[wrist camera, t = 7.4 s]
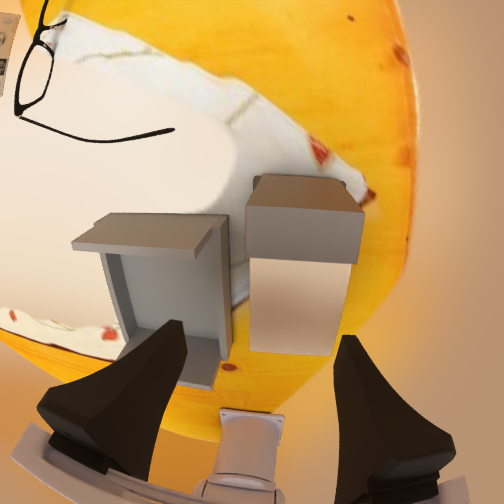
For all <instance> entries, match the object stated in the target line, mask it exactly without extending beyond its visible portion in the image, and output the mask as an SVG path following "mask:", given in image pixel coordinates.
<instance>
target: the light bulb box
mask: <svg viewBox="0 0 504 504" xmlns="http://www.w3.org/2000/svg"><path fill="white" fill-rule="evenodd" d="M20 17H21V16H20V15H15V14H9V13H1V12H0V97H1V96H2V95H3V88H4V82H5V75H6V70H7V65H8V61H9V56H10V52H11V48H12V43H13V40H14V36H15V33H16V29H17V26H18V23H19V19H20Z"/></svg>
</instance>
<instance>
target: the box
mask: <svg viewBox="0 0 504 504" xmlns="http://www.w3.org/2000/svg"><path fill="white" fill-rule="evenodd" d="M364 217H365V213H364V211H363V210H362V209H361V207H360V206H359V205H358V204H357V202H356V201H355V200H354V199H353V197H352V196H351V195H350V194H349V192H348V191H347V190H346V189H345V188H344V186H343V185H342V184H341V183H340V182H339V180H338V179H328V178H315V177H301V176H284V175H262V177H261V179H260V180H259V182H258V184H257V186H256V188H255V189H254V191H253V193H252V195H251V196H250V198H249V200H248V202H247V204H246V258H250V351H256V352H267V353H280V354H296V355H318V356H331V355H332V351H333V348H334V344H335V340H336V336H337V332H338V328H339V324H340V320H341V316H342V311H343V307H344V302H345V298H346V293H347V288H348V283H349V278H350V273H351V268H352V264H357V260H358V254H359V249H360V243H361V237H362V230H363V224H364Z"/></svg>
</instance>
